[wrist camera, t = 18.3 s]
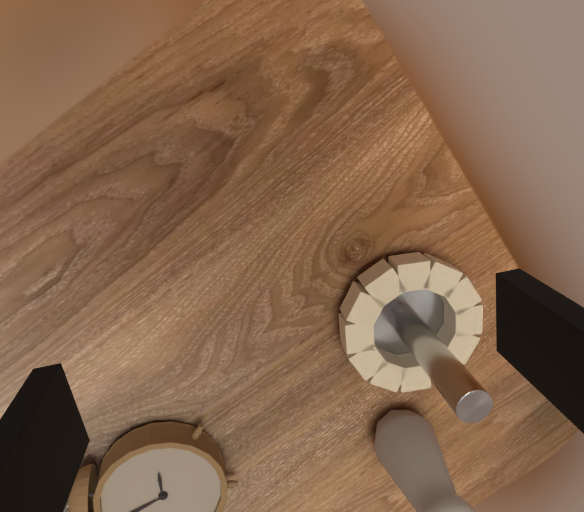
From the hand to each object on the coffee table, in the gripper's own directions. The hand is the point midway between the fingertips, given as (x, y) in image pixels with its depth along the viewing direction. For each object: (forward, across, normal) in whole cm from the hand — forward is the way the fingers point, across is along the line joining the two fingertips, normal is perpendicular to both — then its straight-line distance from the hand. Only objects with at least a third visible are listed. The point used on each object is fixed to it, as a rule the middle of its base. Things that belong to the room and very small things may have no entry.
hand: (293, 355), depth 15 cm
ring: (+24, +11, -13) cm, 30 cm away
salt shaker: (+25, +10, -25) cm, 37 cm away
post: (+25, +11, -13) cm, 31 cm away
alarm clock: (+25, -14, -25) cm, 38 cm away
